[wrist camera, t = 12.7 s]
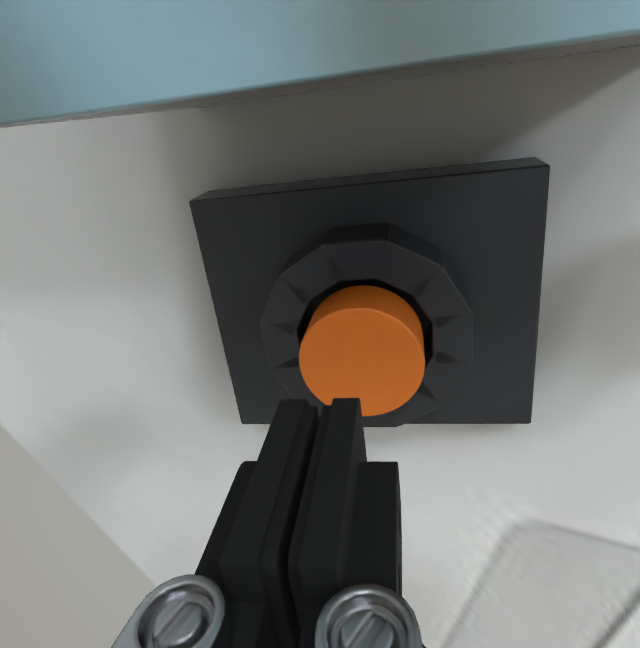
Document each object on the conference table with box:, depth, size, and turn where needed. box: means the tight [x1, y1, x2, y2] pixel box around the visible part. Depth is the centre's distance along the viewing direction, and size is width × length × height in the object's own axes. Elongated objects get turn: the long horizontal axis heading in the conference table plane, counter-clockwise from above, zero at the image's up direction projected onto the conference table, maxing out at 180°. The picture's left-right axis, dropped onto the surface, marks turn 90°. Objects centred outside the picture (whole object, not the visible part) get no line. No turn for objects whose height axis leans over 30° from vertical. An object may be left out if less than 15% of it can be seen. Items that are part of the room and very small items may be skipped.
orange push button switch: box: [190, 157, 550, 427], centre depth 16 cm, size 11×9×4 cm
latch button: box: [299, 285, 425, 416], centre depth 14 cm, size 4×4×2 cm
